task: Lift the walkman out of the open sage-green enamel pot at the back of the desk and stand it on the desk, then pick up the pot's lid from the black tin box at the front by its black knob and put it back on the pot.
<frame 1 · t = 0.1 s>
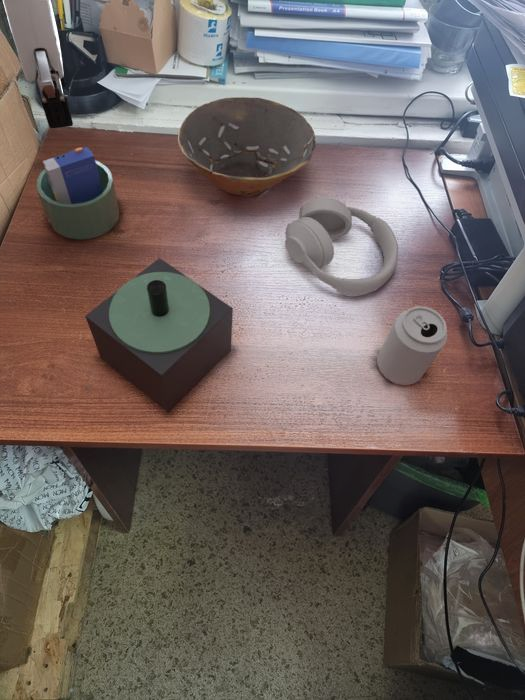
hand: (57, 105, 73), 22 cm above the table, tool pointing down, fingers open, 9 cm apart
headphones: (338, 258, 92), on the table
lid: (160, 311, 69), point 11 cm above the table, touching stand
stand: (166, 354, 78), on the table
can: (398, 367, 80), on the table
walkman: (84, 213, 92), resting on pot
bowl: (245, 179, 101), on the table
pot: (84, 214, 92), on the table
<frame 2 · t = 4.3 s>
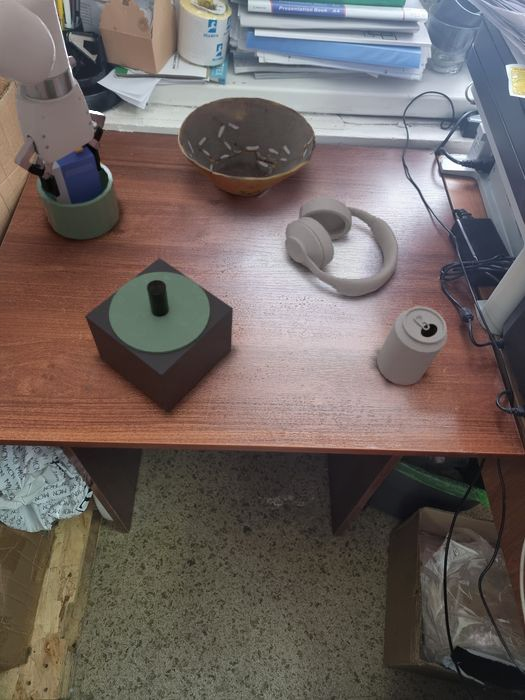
hand: (73, 179, 85), 8 cm above the table, tool pointing down, fingers closed on walkman, 8 cm apart
walkman: (84, 213, 92), resting on pot, touching gripper
everything else where it was.
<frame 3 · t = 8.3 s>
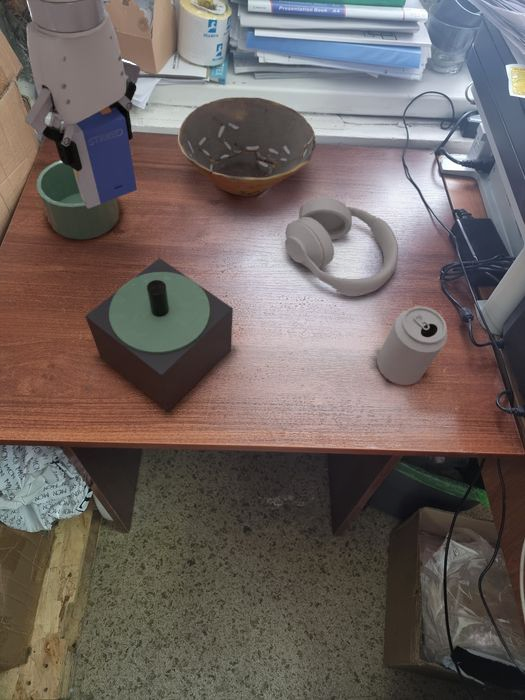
hand: (98, 149, 68), 23 cm above the table, tool pointing down, fingers closed on walkman, 8 cm apart
walkman: (109, 195, 74), point 15 cm above the table, touching gripper
everything else where it was.
when the fingers open (8 cm above the table, at t = 12.4 s): walkman stays where it is, on the table.
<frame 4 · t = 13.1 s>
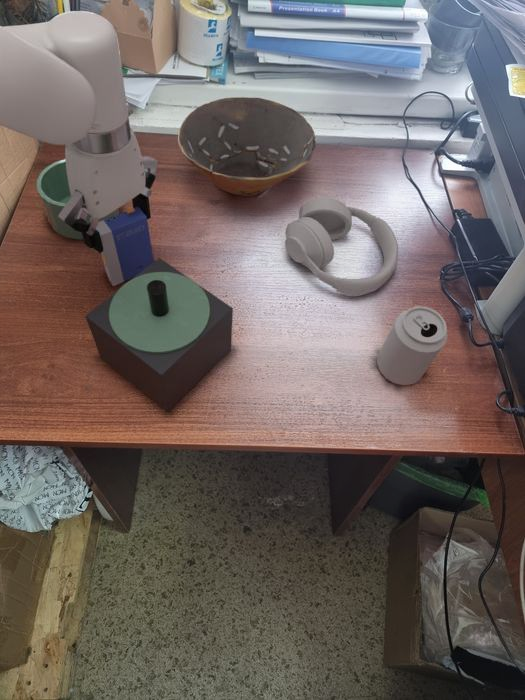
hand: (119, 230, 77), 10 cm above the table, tool pointing down, fingers open, 9 cm apart
walkman: (131, 272, 86), on the table, touching gripper
everything else where it was.
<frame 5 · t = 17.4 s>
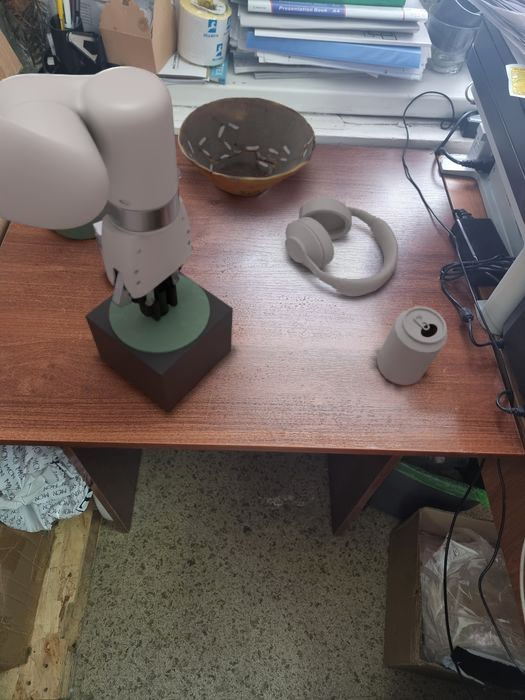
hand: (159, 306, 68), 12 cm above the table, tool pointing down, fingers closed on lid, 2 cm apart
lid: (160, 311, 69), point 11 cm above the table, touching gripper, stand
walkman: (131, 272, 86), on the table
everything else where it was.
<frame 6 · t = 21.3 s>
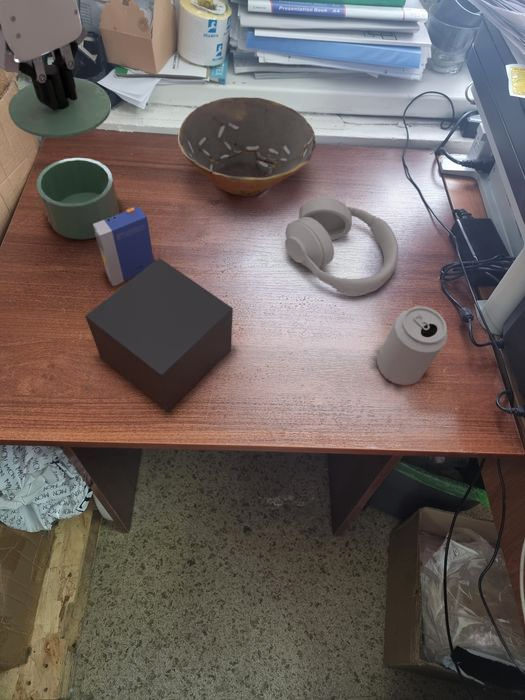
hand: (58, 99, 69), 25 cm above the table, tool pointing down, fingers closed on lid, 2 cm apart
lid: (61, 107, 70), point 24 cm above the table, touching gripper
everything else where it was.
when the fingers open (9 cm above the table, at t = 25.6 s): lid stays where it is, resting on pot.
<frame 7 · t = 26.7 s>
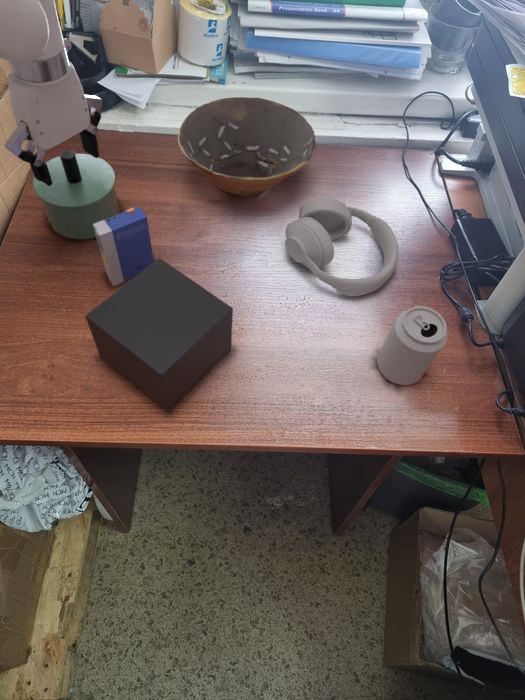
hand: (69, 167, 83), 11 cm above the table, tool pointing down, fingers open, 9 cm apart
lid: (75, 181, 86), point 7 cm above the table, touching pot
everything else where it was.
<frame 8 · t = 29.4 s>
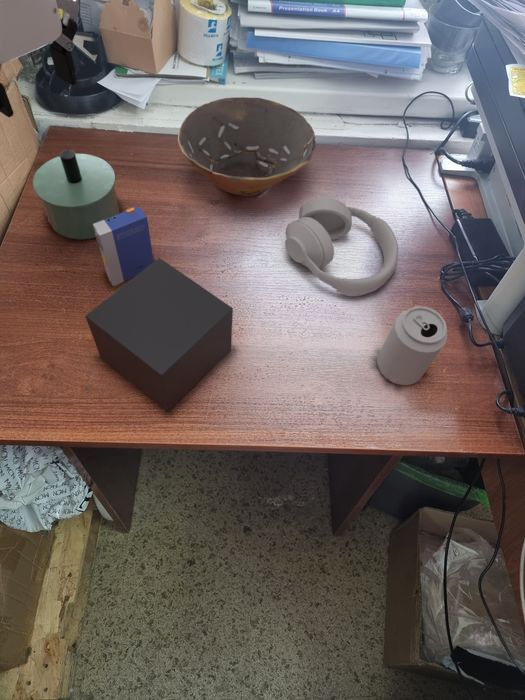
hand: (36, 95, 64), 28 cm above the table, tool pointing down, fingers open, 9 cm apart
nothing on the table moved.
at the end: walkman inside the target area (0.0 cm from its centre), on the table; lid 0.0 cm off-centre on the pot, point 7.5 cm above the pot's base; lid tilted 0° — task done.
